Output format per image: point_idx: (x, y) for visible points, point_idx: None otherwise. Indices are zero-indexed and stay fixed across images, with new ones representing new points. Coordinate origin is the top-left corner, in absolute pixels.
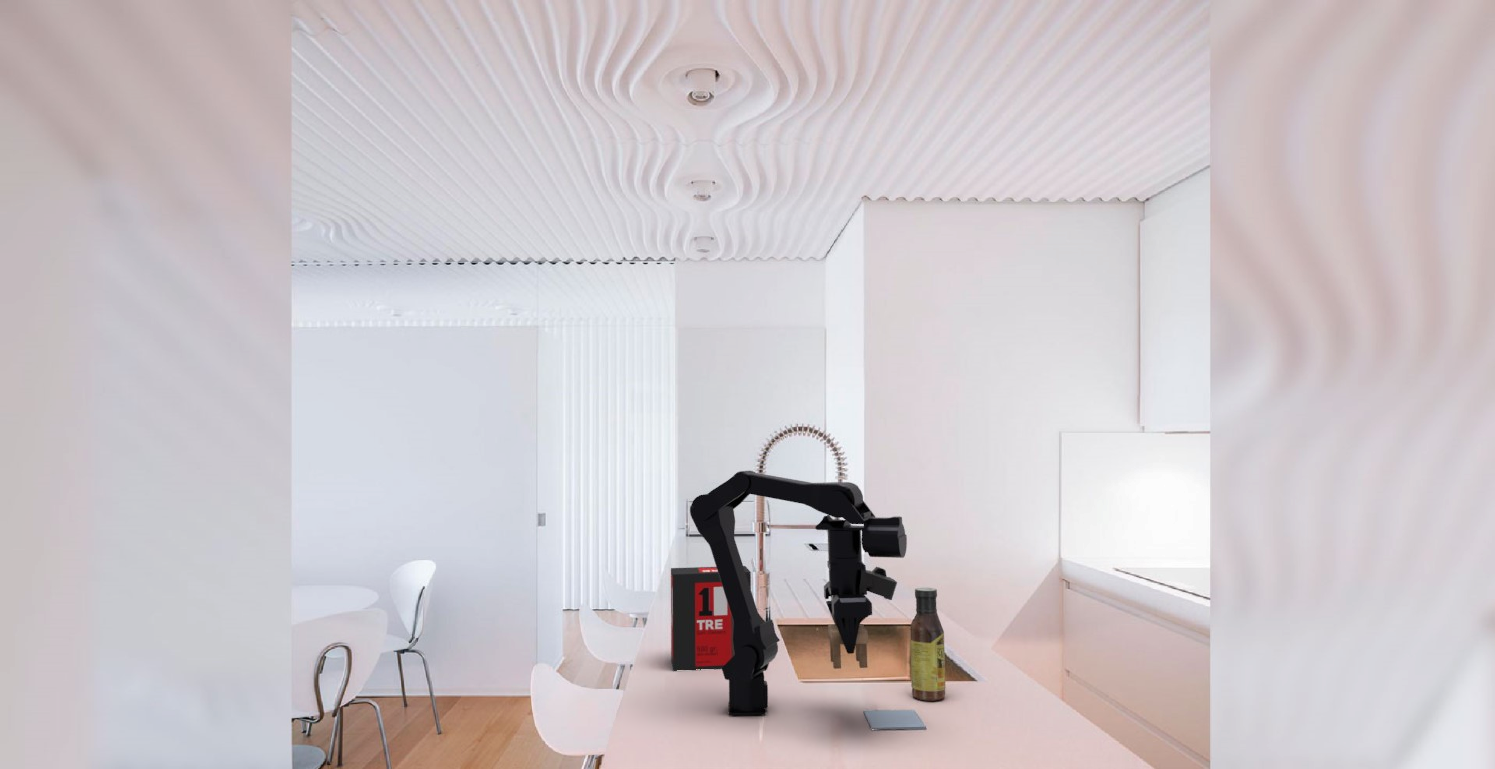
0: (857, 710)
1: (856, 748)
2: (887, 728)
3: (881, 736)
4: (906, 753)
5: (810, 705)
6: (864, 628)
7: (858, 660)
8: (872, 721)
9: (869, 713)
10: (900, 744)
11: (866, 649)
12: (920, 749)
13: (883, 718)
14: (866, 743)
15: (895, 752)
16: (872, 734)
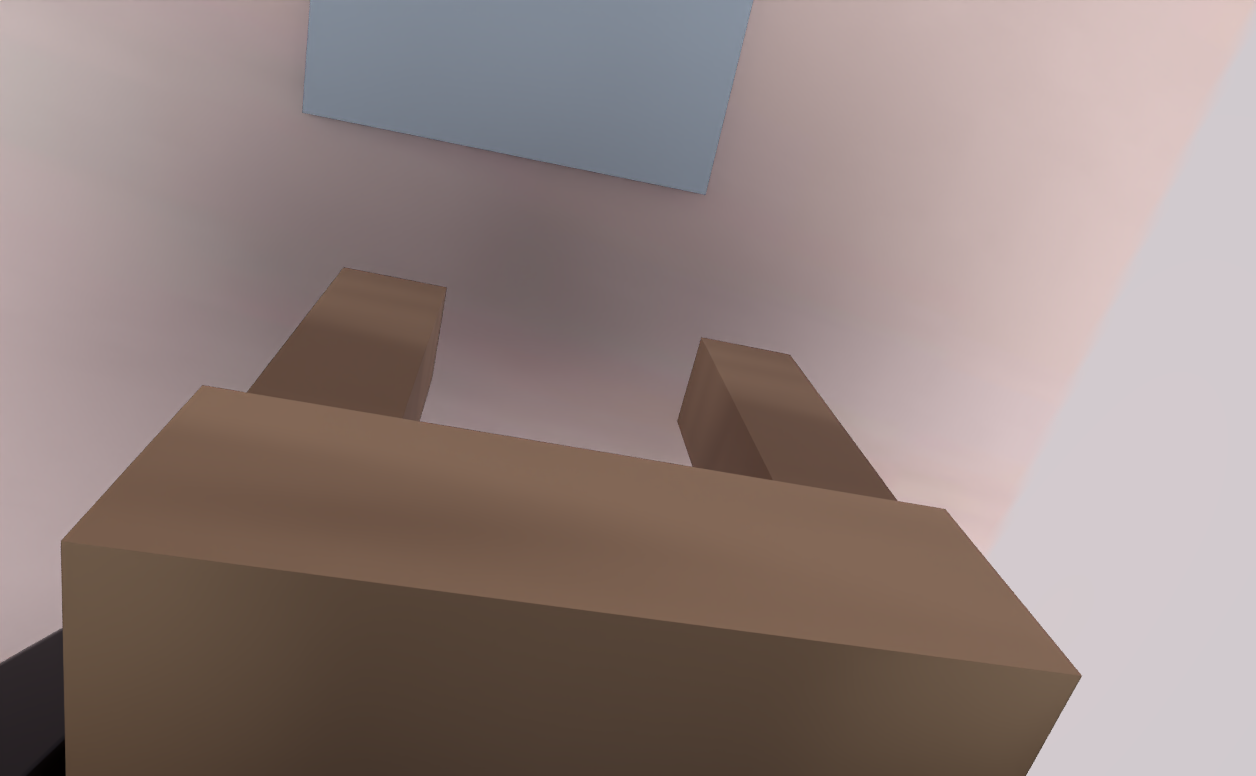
0: (228, 134)
1: (950, 388)
2: (732, 80)
3: (825, 171)
4: (1146, 132)
5: (73, 439)
6: (734, 657)
7: (433, 361)
8: (578, 141)
9: (386, 91)
10: (1002, 104)
11: (871, 473)
12: (1134, 7)
13: (529, 24)
14: (902, 308)
15: (1101, 193)
16: (771, 216)
